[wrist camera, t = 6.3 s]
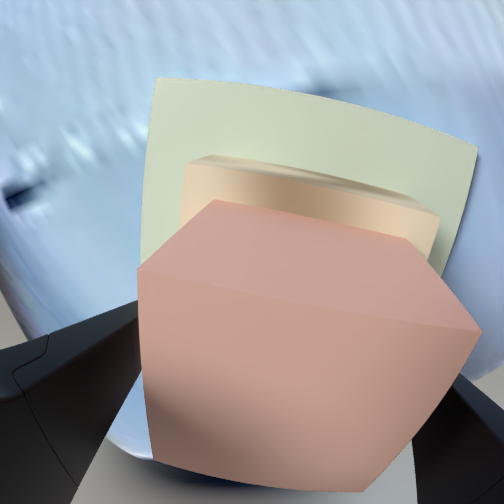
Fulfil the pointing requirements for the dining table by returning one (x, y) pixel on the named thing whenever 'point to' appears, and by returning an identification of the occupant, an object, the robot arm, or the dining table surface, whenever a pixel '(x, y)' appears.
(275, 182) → the block
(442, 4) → the dining table surface
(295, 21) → the dining table surface
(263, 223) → the coral block
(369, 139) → the baseplate
